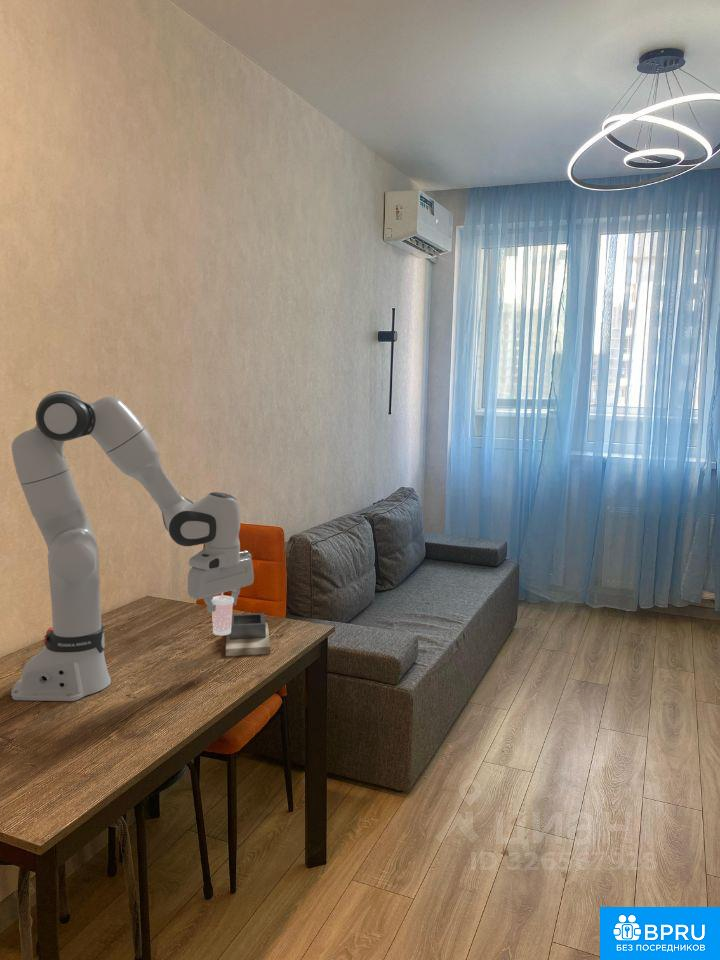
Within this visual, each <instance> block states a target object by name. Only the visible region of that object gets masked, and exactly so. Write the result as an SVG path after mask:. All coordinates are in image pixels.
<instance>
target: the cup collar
mask: <svg viewBox="0 0 720 960" xmlns="http://www.w3.org/2000/svg"><path fill="white" fill-rule="evenodd" d="M265 623H266V615H265V613H264V612H262V613H261V612H260V613H259V612H258V613H239V614H236V613H235V614H232V624H231V633H230V640H236V639H255V638H266V624H265Z"/></svg>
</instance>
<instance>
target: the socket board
mask: <svg viewBox="0 0 720 960" xmlns="http://www.w3.org/2000/svg"><path fill="white" fill-rule="evenodd" d="M268 623H269V622H265V624H266V638H255V639H236V640H230V634H228V635H225V637H226V638H225V642H226V644H225V656H226V657H231V656H235V657H237V656H250V655H267V654H268V655H271V653H272V652H271V640H270V633H269V632H270V631H269V625H268Z"/></svg>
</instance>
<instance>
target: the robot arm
mask: <svg viewBox="0 0 720 960" xmlns="http://www.w3.org/2000/svg"><path fill="white" fill-rule="evenodd" d="M35 421H36V425H34V427H33V428H32V429H29V430H25V431H23V432H22V433H20V434H18V435H17V436H16V437H14V439H13V440H12V443H11V452H12V460H13V463H14V468H15V472H16V475H17V479H18V481H19V484H20V487H21V489H22V491H23V494H24V496H25V499H26V502H27V504H28V507H29V509H30V512H31V514H32V517H33V518H34V521H35V523H36V525H37V526H38V529H39V531H40V532H41V535H42V537H43V540H44V541H45V544H46V547H47V550H48V551H47V552H48V553H47V554H48V555H47V568H48V577H49V578H48V579H49V580H48V581H49V590H50V591H49V592H50V600H51V601H50V602H51V618H52V626H51V627H49V628H48V629H47V630H46V633H45V636H44V639H43V645H45V646H44V648H42V649H40V651H38V652H37V653H35V655H34V656H32V657H30V658H29V660H28V661H27V662H26V664H25V665H24V666H23V669H22V673H21V678H19V680H17V681H16V683H15V684H14V685H13V686H12V688H11V691H10V692H11V693H10V694H11V695H10V696H12V697H11V698H12V700H14V701H39V702H40V701H41V702H42V701H48V702H49V701H50V702H51V701H52V702H53V701H54V702H75V701H77V700H80V699H83V698H84V697H86V696H88V695H92V694H95V693H98V692H99V691H100V692H101V691H103V690H104V689H106V688H107V687H108V686H109V685H111V683H112V678H111V676H110V673H109V670H108V667H107V662H106V658H105V657H106V656H105V651H104V650H105V645H106V644H105V643H106V642H105V641H106V639H105V631H104V626H103V625H102V609H101V592H100V591H101V588H100V587H101V585H100V584H101V583H100V559H99V548H98V542H97V538H96V536H95V533H94V530H93V527H92V526H91V523H90V521H89V520H90V519H89V518H88V515H87V512H86V510H85V508H84V505H83V503H82V501H81V498H80V495H79V492H78V490H77V487H76V484H75V482H74V478H73V476H72V473H71V471H70V469H69V468H70V467H69V466H68V462H67V460H66V457H65V454H64V443H65V442H67V441H72V440H75V439H79V438H81V437H86V436H90V437H91V438H93V439H94V440H95V441H96V442H97V444H98V445H99V446H100V447H101V449H102V450H103V452H104V453H105V455H106V456H107V457H108V459H110V461H111V462H112V464H114V465H115V466H116V467H117V468H118V469H119V470H120V471H121V472H122V473H123V474H124V475H125V476H128V477H130V478H133V479H134V480H136V481H138V483H140V485H142V486H143V488H144V489H145V490H146V491H147V492H148V494H149V495H150V497H151V498H152V499H153V501H154V502H155V503H156V504H157V506H158V508H159V510H160V512H161V516H162V521H163V525H164V527H165V529H166V531H167V532H168V534H169V536H170V538H171V539H172V541H173V542H174V543H176V544H178V545H179V546H182V547H193V546H198V545H203V544H204V548H203V549H201V550H200V551H199V552H197V553H196V554H195V555H193V556H191V557H190V558H189V559H188V565H189V567H191V568H190V569H189V571H188V575H187V595H188V596H189V597H190V598H192V599H195V600H201V599H202V600H203V601H204V603H205V605H206V612H208V613H211V614H212V612H214V611H216V609H215V608H216V605H214V604H213V603H212V601H211V600H213V597H214V596H218V595H221V593H223V594H224V593H227V592H230V591H231V594H230V596H231V597H233V598H234V603H233V607H234V606H236V605H237V604H238V601H237V600H238V598H239V596H240V593H241V588H244V587H248V586H251V585H252V584H253V583H254V580H255V575H254V566H253V560H252V557H253V555H252V554H251V553H250V552H249V551H248V550H242V551H241V542H240V538H239V537H240V535H239V534H240V530H241V510H240V505H239V500H238V499H237V498H235V497H234V496H232V495H231V494H229V493H224V492H217V491H216V492H209V493H208V494H207V495H206V496H204V497H203V498H201V499H199V500H197V501H196V502H193V501H192V500H190V499H188V498H186V497H185V496H184V495H183V494H181V493H180V491H179V490H178V489H177V487H176V485H174V483H173V482H172V480H171V479H170V477H168V475H167V474H166V471H165V470H164V469H163V466H162V463H161V460H160V453H159V451H158V447H157V446H156V443H155V442H154V439H153V438H152V435H151V434H150V433H149V431H148V430H147V428H146V427H145V425H144V424H143V423H142V421H141V420H140V419H139V417H138V416H137V415H136V414H135V413H134V411H132V410H131V409H130V407H129V406H127V405H126V403H124V402H123V400H121V399H120V398H118V397H115V396H106V397H102V398H100V399H97V400H96V401H94V402H91V403H89V402H86V401H84V400H83V399H82V398H81V397H80V395H79V396H78V395H77V394H76V393H74V392H71V391H68V390H66V391H65V390H57V391H53V392H51V393H49V394H47V395H45V396H44V397H43V398H41V400H40V402H39V403H38V406H37V408H36V412H35Z"/></svg>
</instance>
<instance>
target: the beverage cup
mask: <svg viewBox="0 0 720 960" xmlns="http://www.w3.org/2000/svg"><path fill="white" fill-rule="evenodd" d="M211 601H212V603H213V604H214V605H216V608H215V609H216V611H214V612H211V617H212V618H211V621H212V634H213V635H215V636H226V635H228V634H230V633H231V624H232V615H233V610H234V609H233V607H234V606H233V603H234V598H233V597H231V595H224V593H220V595H214V596H213V600H211Z"/></svg>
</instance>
